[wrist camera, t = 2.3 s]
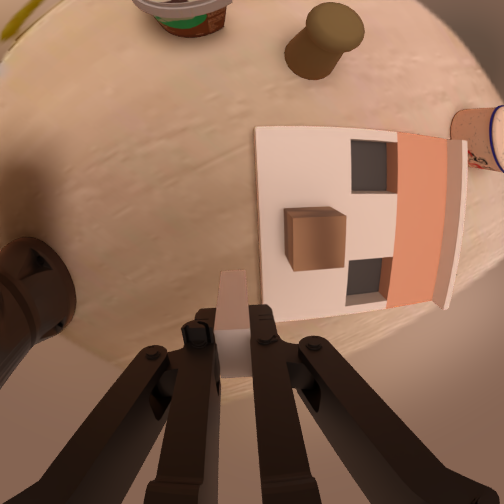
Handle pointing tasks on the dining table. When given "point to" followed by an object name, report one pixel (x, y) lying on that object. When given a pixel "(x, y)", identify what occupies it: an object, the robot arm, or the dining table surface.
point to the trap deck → (361, 217)
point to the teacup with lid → (481, 136)
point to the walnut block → (314, 238)
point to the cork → (324, 40)
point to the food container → (187, 15)
